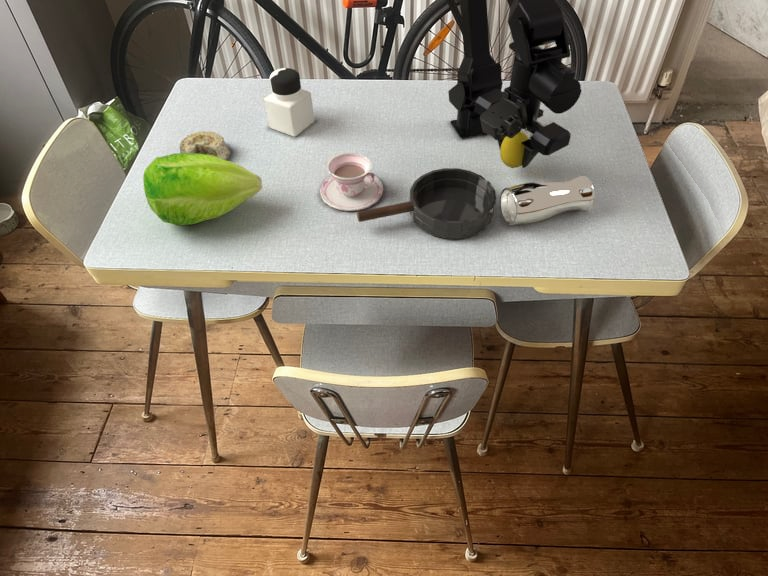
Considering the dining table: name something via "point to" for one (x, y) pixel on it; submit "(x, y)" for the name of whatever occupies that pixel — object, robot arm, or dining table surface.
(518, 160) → the lemon
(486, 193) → the pan
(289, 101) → the medicine bottle
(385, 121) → the dining table surface
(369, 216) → the pan handle
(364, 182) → the teacup
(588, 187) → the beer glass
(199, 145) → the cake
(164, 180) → the lettuce
